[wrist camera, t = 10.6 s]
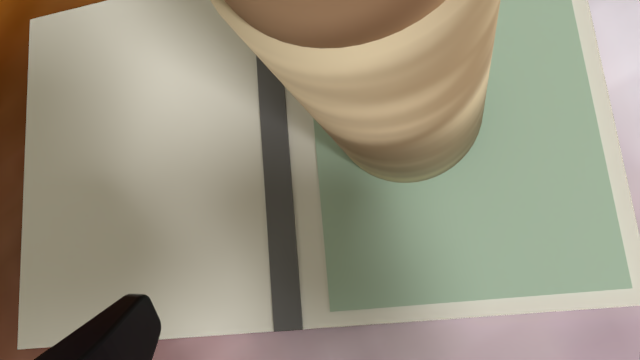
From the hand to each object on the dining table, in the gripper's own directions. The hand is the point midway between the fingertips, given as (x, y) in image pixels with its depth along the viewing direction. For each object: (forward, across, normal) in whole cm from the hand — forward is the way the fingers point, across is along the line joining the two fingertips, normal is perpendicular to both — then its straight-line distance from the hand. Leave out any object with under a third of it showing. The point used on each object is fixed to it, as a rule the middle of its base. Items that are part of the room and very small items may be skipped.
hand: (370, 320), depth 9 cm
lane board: (+10, +5, +1) cm, 11 cm away
